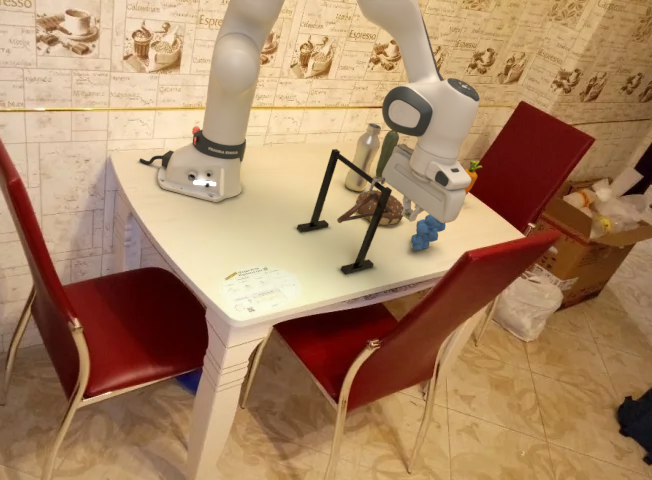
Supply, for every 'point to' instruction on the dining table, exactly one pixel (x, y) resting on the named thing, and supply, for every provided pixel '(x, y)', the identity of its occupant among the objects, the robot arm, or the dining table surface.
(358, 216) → the hanger
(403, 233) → the dining table surface
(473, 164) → the carrot
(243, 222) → the dining table surface
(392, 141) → the vegetable
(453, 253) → the dining table surface
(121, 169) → the dining table surface
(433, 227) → the grapes
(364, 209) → the donut
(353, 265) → the rail
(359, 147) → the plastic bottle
